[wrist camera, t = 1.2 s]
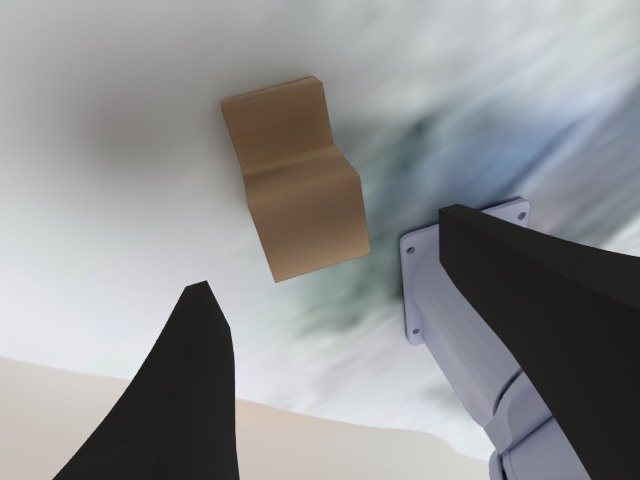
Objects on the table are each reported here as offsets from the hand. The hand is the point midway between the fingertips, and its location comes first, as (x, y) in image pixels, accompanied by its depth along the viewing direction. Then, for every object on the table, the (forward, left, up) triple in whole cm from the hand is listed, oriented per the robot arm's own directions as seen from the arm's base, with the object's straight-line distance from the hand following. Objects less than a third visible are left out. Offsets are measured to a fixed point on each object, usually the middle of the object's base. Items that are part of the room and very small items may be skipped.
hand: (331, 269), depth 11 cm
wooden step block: (+1, 0, -8) cm, 8 cm away
